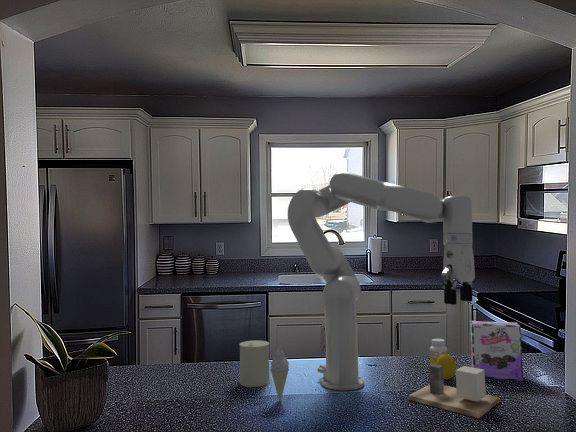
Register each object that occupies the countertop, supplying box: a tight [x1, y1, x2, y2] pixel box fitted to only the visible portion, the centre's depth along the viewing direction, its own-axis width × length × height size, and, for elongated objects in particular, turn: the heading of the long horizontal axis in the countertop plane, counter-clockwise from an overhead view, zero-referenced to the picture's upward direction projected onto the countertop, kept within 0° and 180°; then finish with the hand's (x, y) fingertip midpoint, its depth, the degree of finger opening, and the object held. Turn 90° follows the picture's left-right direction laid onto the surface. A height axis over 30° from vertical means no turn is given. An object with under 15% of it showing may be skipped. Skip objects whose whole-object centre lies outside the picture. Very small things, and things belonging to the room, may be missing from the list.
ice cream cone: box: [269, 343, 290, 401], centre depth 115 cm, size 5×5×15 cm
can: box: [238, 339, 271, 388], centre depth 131 cm, size 9×9×12 cm
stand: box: [408, 364, 500, 419], centre depth 112 cm, size 18×14×8 cm
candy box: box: [469, 320, 524, 382], centre depth 132 cm, size 14×6×16 cm, turn 71°
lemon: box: [437, 353, 457, 381], centre depth 130 cm, size 6×6×8 cm
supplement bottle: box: [429, 338, 449, 365], centre depth 140 cm, size 5×5×10 cm
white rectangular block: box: [455, 365, 487, 402], centre depth 109 cm, size 5×5×7 cm
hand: (458, 302), depth 118 cm, fingers open, 9 cm apart
